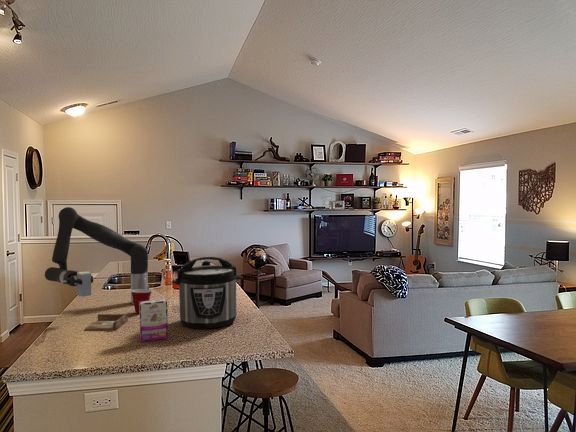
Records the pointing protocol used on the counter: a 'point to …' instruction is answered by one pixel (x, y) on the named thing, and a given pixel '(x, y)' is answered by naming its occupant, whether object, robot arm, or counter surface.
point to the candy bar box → (153, 320)
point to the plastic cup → (140, 297)
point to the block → (84, 284)
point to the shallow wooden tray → (108, 322)
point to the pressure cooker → (207, 293)
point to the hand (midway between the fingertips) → (86, 281)
